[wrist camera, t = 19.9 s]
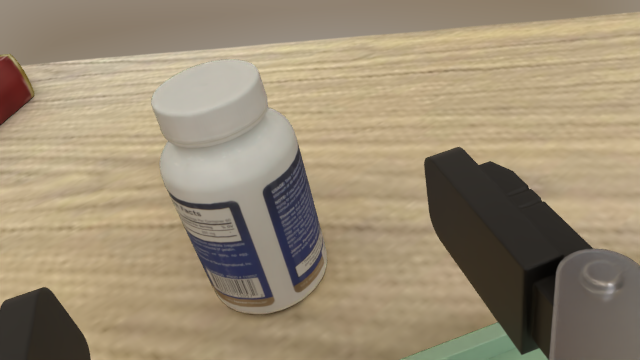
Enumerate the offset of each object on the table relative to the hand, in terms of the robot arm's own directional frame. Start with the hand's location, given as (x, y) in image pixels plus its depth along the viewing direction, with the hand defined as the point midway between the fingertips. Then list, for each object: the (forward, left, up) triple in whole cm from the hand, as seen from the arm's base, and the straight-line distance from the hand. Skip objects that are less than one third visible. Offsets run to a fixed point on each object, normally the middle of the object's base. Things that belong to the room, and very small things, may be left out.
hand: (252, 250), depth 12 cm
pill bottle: (-9, -3, -10) cm, 14 cm away
